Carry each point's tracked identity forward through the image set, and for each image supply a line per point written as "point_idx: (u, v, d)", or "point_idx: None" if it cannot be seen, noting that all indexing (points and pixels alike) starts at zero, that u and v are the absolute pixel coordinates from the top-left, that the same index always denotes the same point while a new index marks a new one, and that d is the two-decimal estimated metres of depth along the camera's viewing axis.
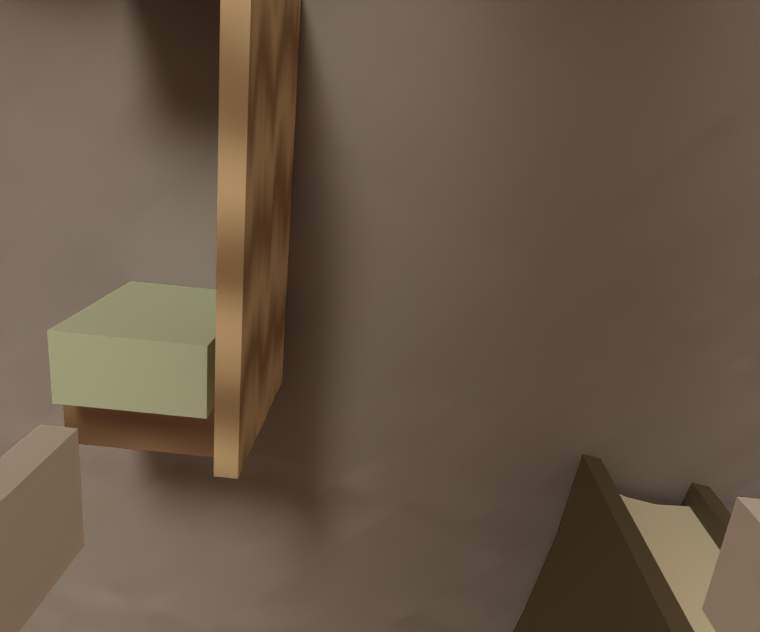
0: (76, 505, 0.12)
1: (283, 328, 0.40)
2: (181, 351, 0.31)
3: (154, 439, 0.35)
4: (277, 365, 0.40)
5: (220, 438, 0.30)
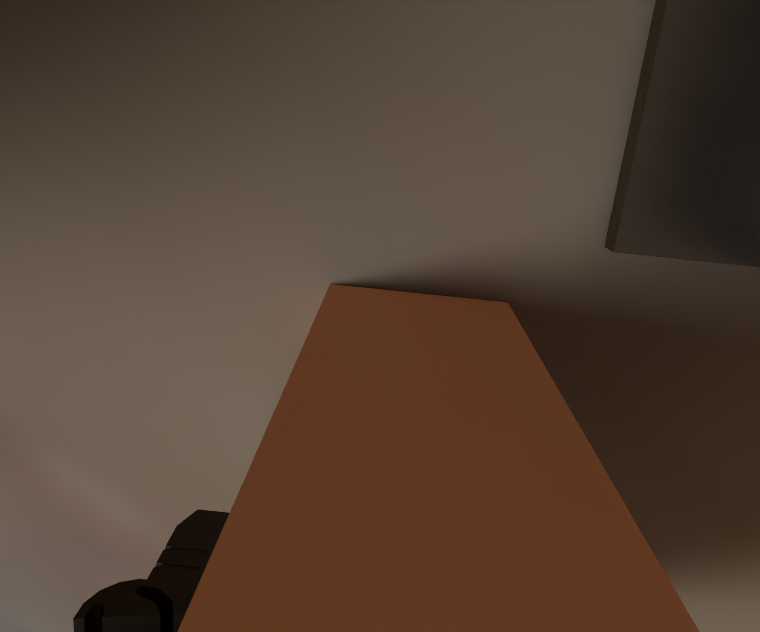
0: None
1: None
2: None
3: None
4: None
5: None
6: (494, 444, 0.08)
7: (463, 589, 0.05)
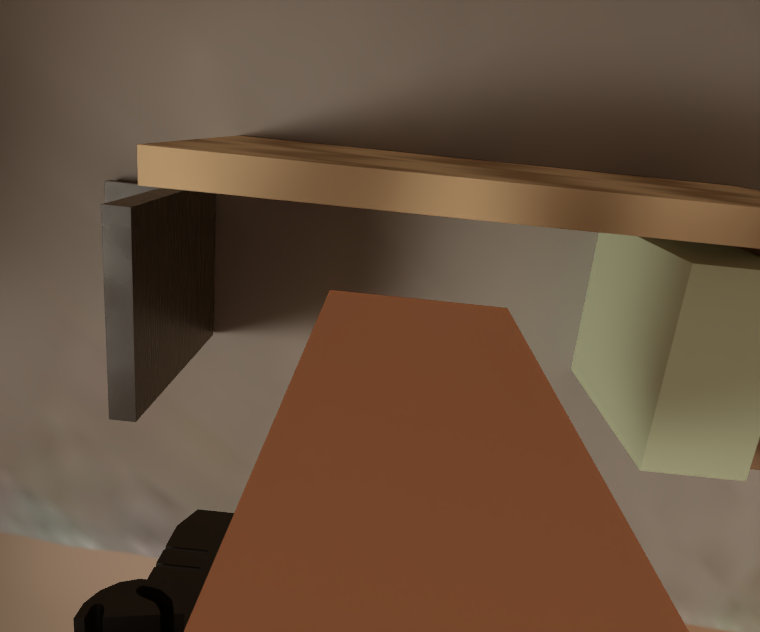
0: None
1: (657, 178, 0.29)
2: (695, 301, 0.21)
3: None
4: (714, 186, 0.28)
5: None
6: (493, 454, 0.08)
7: (462, 604, 0.05)
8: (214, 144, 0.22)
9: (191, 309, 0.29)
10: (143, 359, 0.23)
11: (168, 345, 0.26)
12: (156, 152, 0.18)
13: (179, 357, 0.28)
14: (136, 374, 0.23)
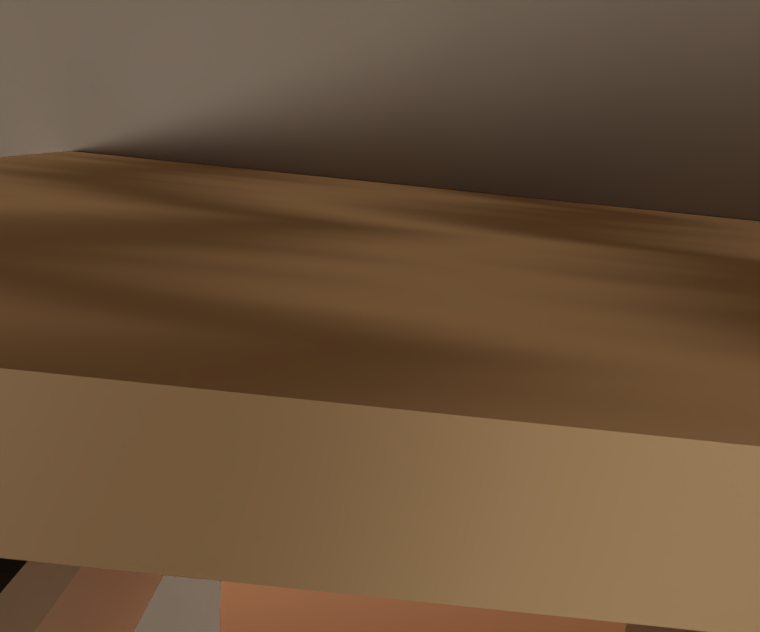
0: None
1: None
2: None
3: None
4: None
5: None
6: None
7: None
8: None
9: None
10: None
11: None
12: None
13: None
14: None
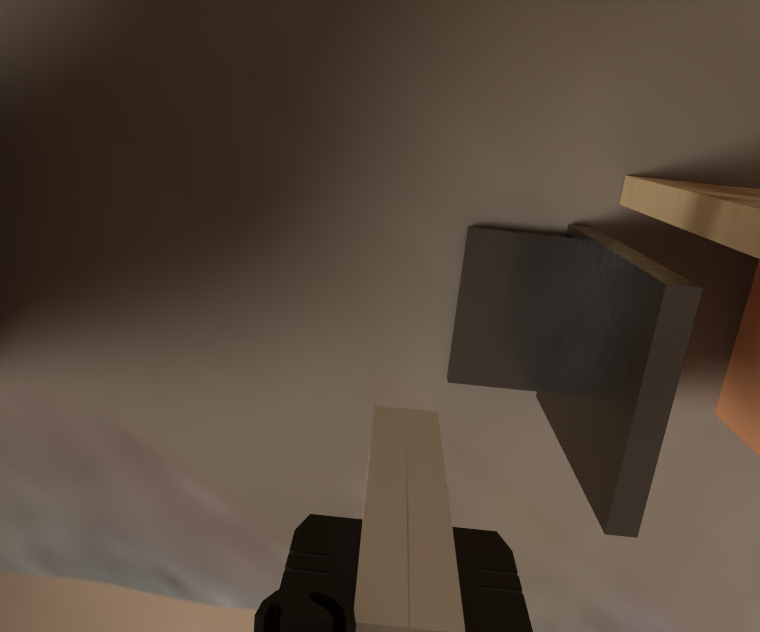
0: None
1: None
2: None
3: None
4: None
5: None
6: None
7: None
8: None
9: None
10: None
11: None
12: None
13: None
14: (649, 482, 0.19)
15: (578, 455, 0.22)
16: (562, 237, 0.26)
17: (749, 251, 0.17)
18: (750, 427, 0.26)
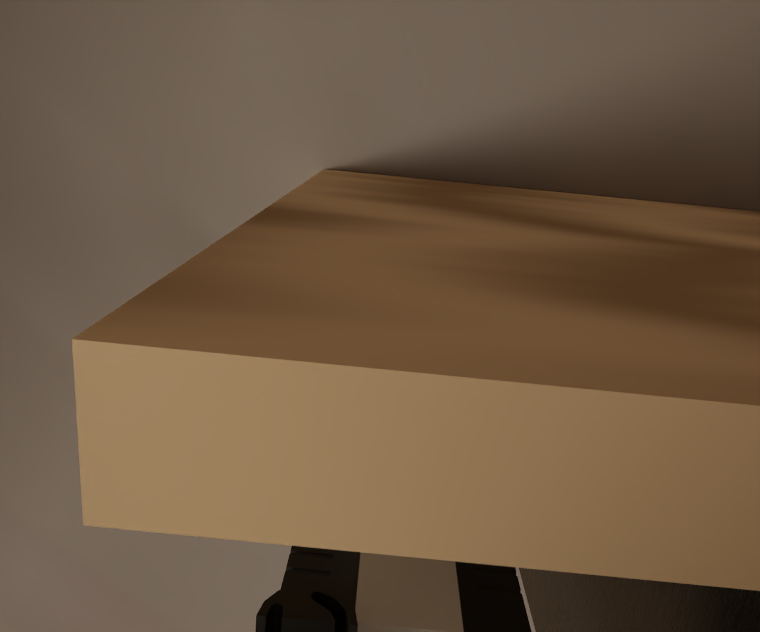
0: None
1: None
2: None
3: None
4: None
5: None
6: None
7: None
8: (351, 239, 0.07)
9: None
10: None
11: None
12: (177, 379, 0.03)
13: None
14: None
15: None
16: None
17: None
18: None
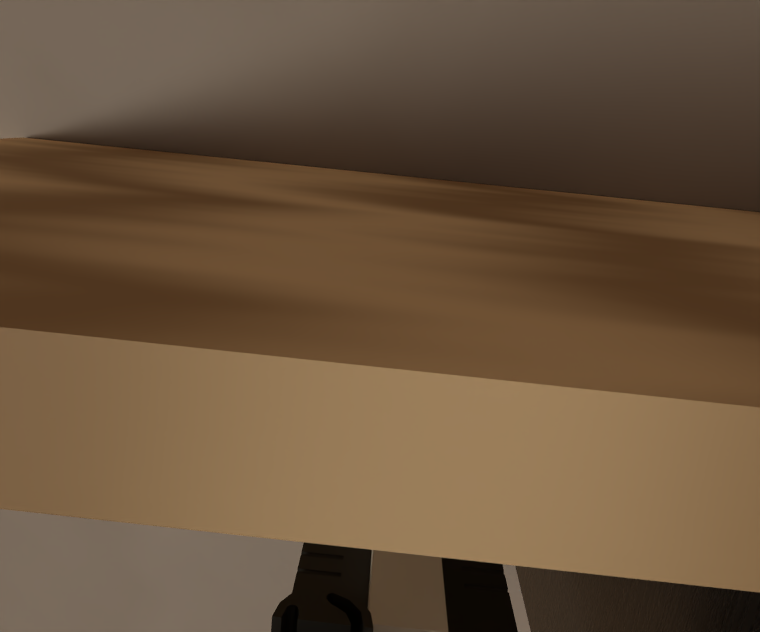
0: None
1: None
2: None
3: None
4: None
5: None
6: None
7: None
8: None
9: None
10: None
11: None
12: None
13: None
14: None
15: None
16: None
17: None
18: None
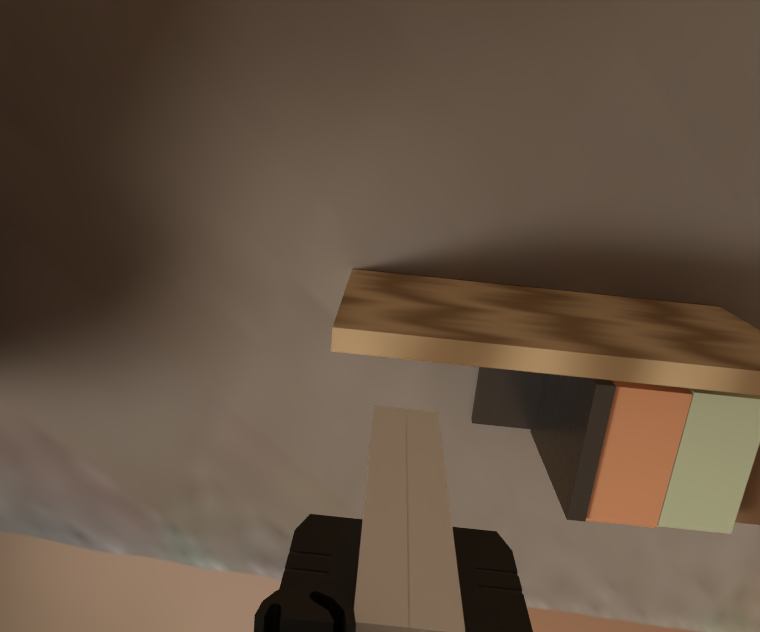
0: None
1: (662, 302, 0.40)
2: (696, 416, 0.32)
3: None
4: (703, 313, 0.38)
5: None
6: None
7: (650, 384, 0.32)
8: (364, 307, 0.32)
9: None
10: None
11: None
12: (344, 332, 0.29)
13: None
14: (591, 489, 0.33)
15: (554, 473, 0.37)
16: None
17: None
18: None
